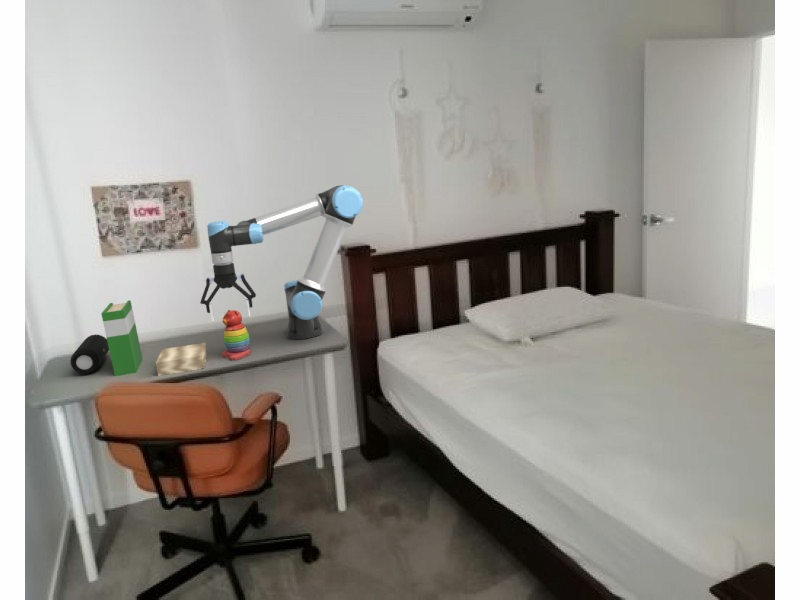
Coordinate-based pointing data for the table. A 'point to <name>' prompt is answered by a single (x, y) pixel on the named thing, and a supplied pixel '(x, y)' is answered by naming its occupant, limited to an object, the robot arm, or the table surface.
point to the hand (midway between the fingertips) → (231, 318)
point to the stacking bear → (235, 336)
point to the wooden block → (181, 359)
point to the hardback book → (122, 338)
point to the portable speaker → (89, 354)
